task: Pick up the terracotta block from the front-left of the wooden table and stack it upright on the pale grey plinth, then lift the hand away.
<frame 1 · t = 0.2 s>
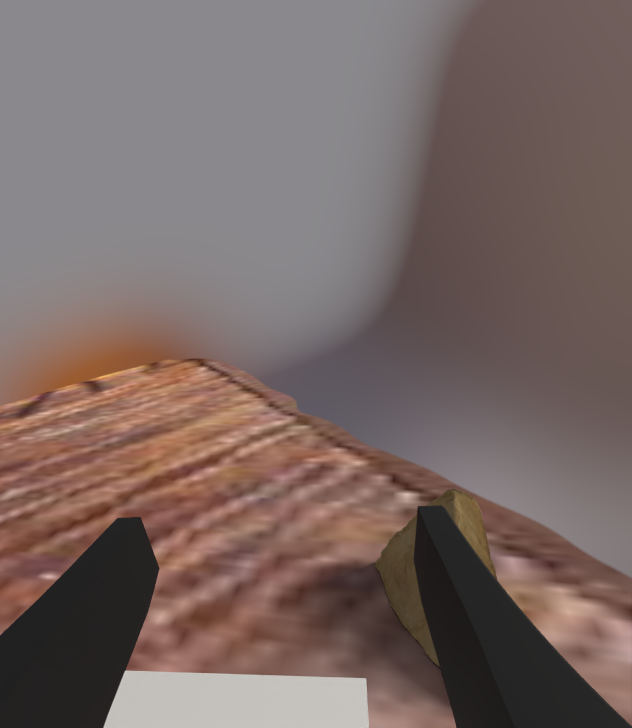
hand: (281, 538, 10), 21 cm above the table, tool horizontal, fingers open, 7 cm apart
rock: (430, 626, 29), on the table
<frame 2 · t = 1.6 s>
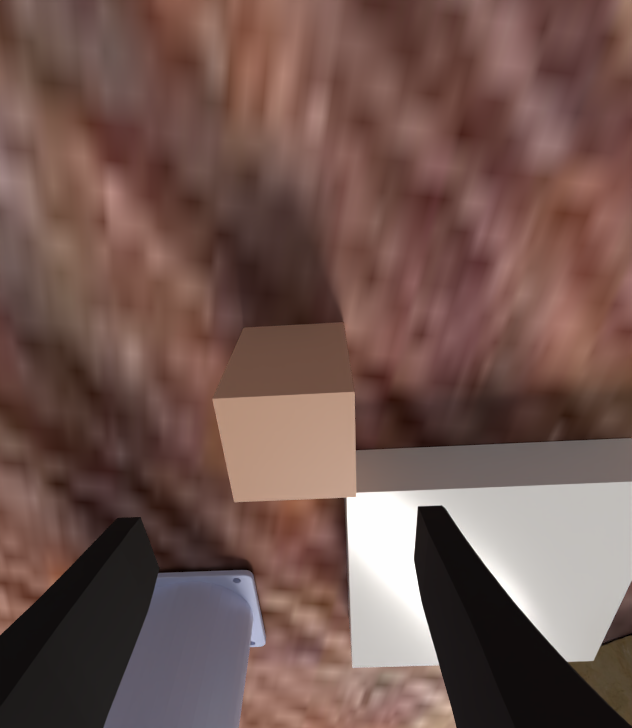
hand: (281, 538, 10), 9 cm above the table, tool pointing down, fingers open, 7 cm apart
base plinth: (469, 542, 24), on the table
rock: (616, 645, 30), on the table
terracotta block: (297, 368, 19), on the table
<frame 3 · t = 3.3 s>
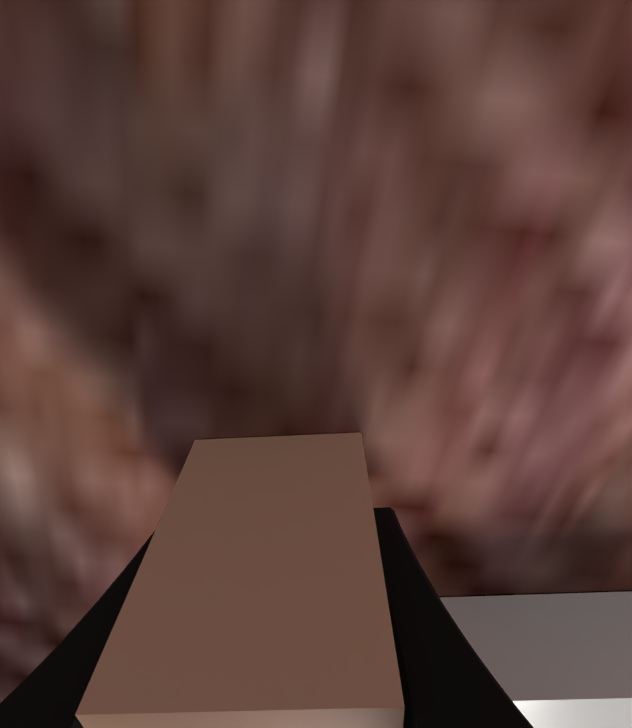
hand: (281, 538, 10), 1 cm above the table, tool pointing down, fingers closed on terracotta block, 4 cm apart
base plinth: (532, 701, 17), on the table
terracotta block: (285, 497, 12), on the table, touching gripper
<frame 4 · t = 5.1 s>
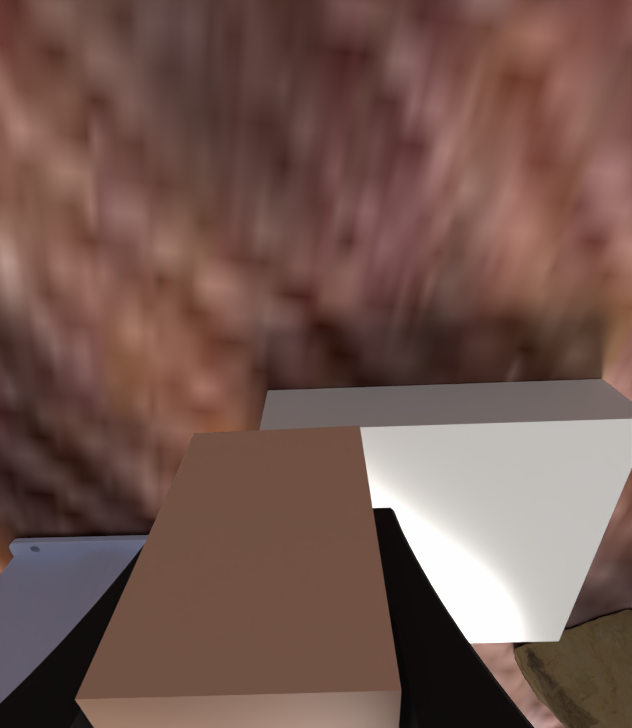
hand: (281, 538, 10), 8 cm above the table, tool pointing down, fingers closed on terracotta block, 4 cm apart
base plinth: (420, 504, 21), on the table
rock: (589, 628, 27), on the table
terracotta block: (284, 491, 12), point 7 cm above the table, touching gripper
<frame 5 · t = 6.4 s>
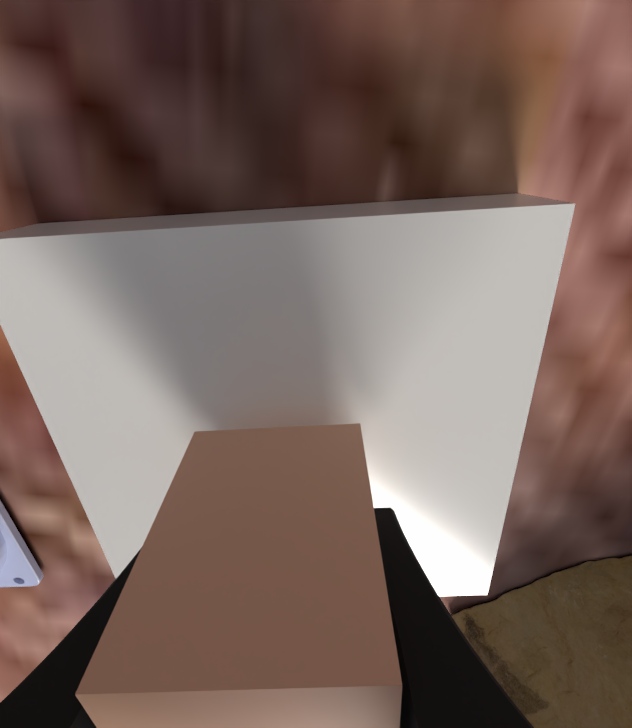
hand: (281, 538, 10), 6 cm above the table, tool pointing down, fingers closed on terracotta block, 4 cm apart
base plinth: (294, 410, 16), on the table
rock: (545, 589, 21), on the table
terracotta block: (285, 489, 12), point 4 cm above the table, touching gripper
when the fingers open (6 cm above the table, at t = 7.0 s): terracotta block drops 1 cm, resting on base plinth.
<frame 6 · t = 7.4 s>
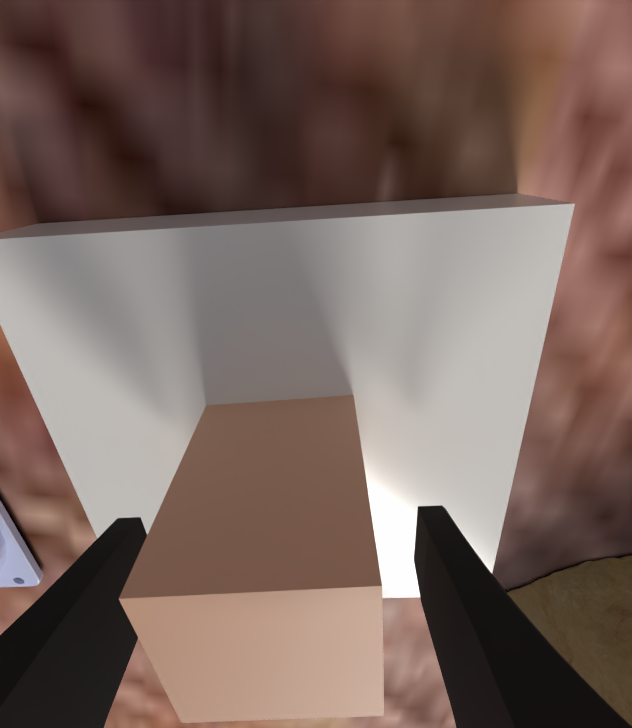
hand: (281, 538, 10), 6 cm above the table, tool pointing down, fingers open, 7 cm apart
base plinth: (293, 410, 16), on the table
rock: (545, 589, 21), on the table
terracotta block: (287, 458, 13), point 3 cm above the table, touching base plinth
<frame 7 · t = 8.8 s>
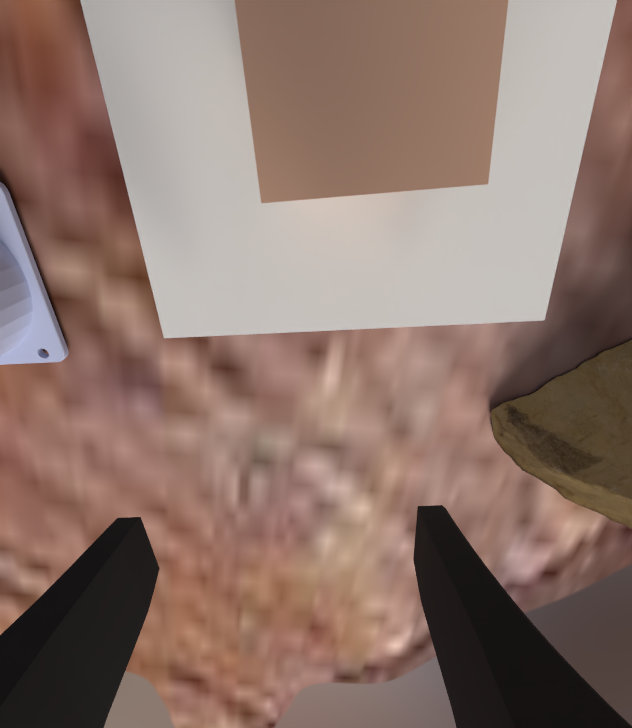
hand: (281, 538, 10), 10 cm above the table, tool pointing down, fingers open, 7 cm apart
base plinth: (343, 113, 15), on the table
rock: (589, 383, 21), on the table
terracotta block: (348, 98, 12), point 3 cm above the table, touching base plinth
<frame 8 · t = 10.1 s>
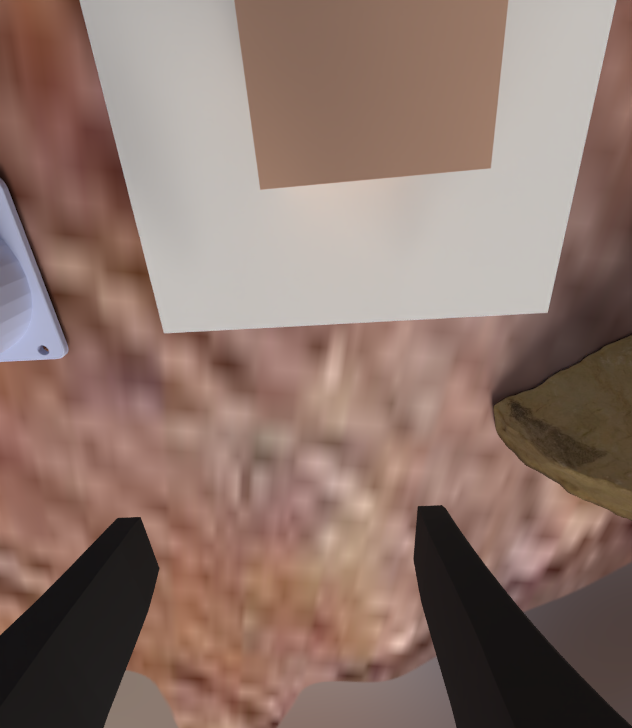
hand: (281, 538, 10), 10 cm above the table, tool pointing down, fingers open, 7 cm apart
base plinth: (343, 105, 15), on the table
rock: (593, 377, 20), on the table
terracotta block: (348, 88, 12), point 3 cm above the table, touching base plinth
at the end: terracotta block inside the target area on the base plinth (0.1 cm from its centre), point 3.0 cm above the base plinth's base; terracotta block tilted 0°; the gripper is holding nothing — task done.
